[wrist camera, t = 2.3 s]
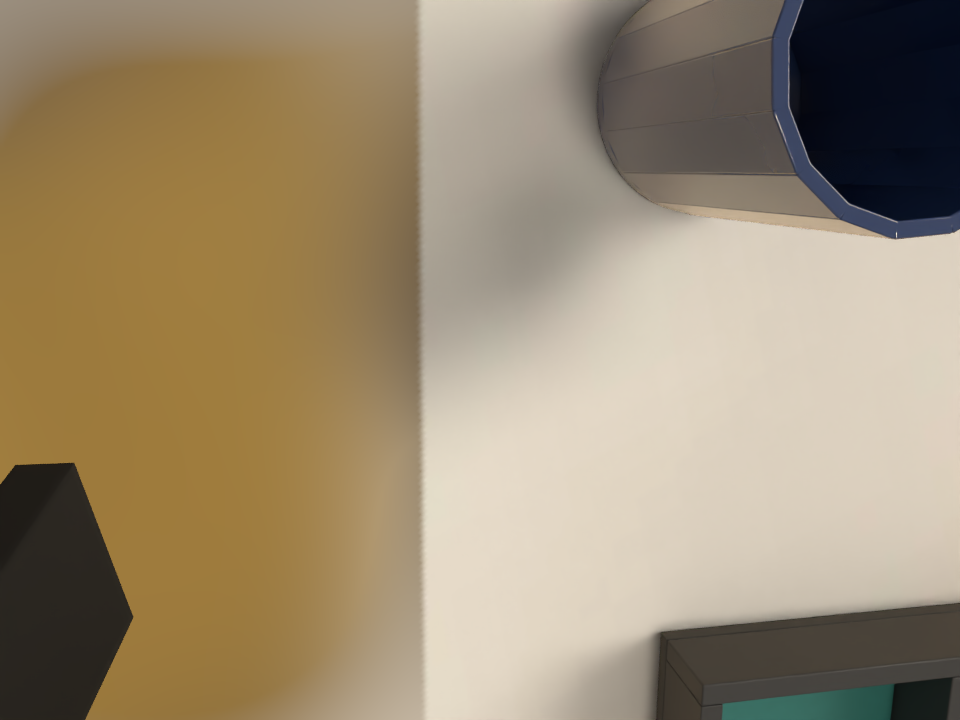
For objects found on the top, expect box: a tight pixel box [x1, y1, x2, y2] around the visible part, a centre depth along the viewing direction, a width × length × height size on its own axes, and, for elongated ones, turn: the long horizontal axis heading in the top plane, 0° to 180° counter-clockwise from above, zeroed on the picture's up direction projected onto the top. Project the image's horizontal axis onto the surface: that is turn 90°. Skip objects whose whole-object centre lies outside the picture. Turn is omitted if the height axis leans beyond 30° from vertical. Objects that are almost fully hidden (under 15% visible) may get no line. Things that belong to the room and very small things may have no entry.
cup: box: [597, 0, 960, 239], centre depth 24 cm, size 7×7×11 cm
